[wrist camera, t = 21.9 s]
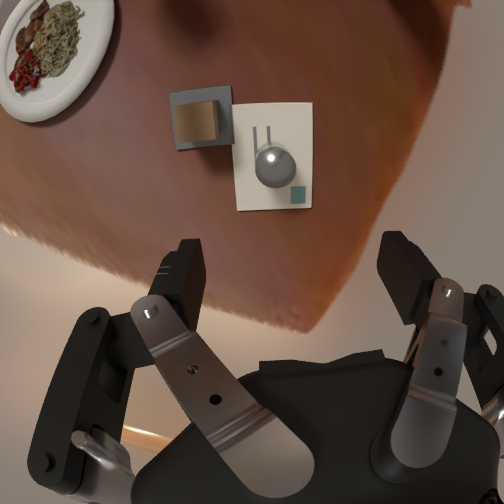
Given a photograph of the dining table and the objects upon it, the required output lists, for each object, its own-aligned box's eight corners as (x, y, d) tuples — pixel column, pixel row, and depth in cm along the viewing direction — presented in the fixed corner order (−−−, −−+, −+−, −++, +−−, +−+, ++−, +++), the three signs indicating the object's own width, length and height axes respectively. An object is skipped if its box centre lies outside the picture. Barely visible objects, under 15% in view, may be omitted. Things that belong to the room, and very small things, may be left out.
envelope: (311, 102, 36) (312, 102, 36) (310, 206, 45) (311, 207, 45) (228, 105, 37) (228, 105, 36) (237, 209, 46) (237, 210, 46)
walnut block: (217, 99, 36) (212, 101, 31) (220, 132, 38) (215, 139, 33) (183, 103, 36) (173, 106, 31) (187, 135, 39) (177, 143, 34)
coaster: (230, 85, 35) (230, 85, 35) (235, 143, 40) (235, 144, 40) (169, 93, 35) (169, 93, 35) (176, 149, 40) (176, 149, 40)
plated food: (149, -27, 23) (142, -33, 20) (84, 136, 38) (74, 140, 35) (30, -23, 16) (20, -25, 14) (-12, 108, 31) (-23, 112, 28)
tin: (290, 140, 39) (296, 148, 34) (291, 174, 42) (296, 187, 37) (253, 141, 39) (253, 150, 34) (255, 175, 42) (256, 189, 37)
